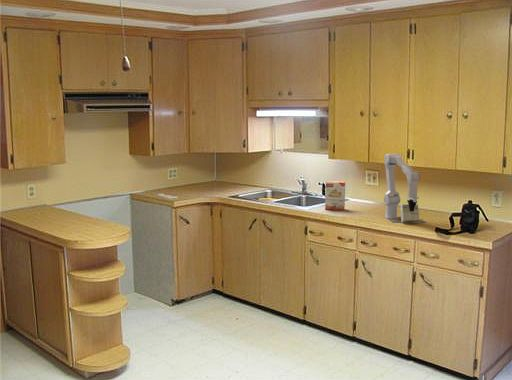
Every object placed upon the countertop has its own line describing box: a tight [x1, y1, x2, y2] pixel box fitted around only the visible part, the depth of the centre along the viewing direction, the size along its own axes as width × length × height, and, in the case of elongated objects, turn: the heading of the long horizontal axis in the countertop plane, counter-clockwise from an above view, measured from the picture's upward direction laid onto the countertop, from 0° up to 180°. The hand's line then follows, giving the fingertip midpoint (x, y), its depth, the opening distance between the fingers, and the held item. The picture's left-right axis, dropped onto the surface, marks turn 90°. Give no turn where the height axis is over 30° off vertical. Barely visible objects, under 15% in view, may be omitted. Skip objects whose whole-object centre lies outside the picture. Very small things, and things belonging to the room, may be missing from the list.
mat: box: [389, 218, 426, 223], centre depth 369 cm, size 8×22×1 cm, turn 89°
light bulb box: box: [399, 203, 420, 224], centre depth 363 cm, size 11×7×11 cm, turn 89°
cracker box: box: [324, 180, 346, 211], centre depth 408 cm, size 14×6×21 cm, turn 76°
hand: (411, 211), depth 358 cm, fingers closed
